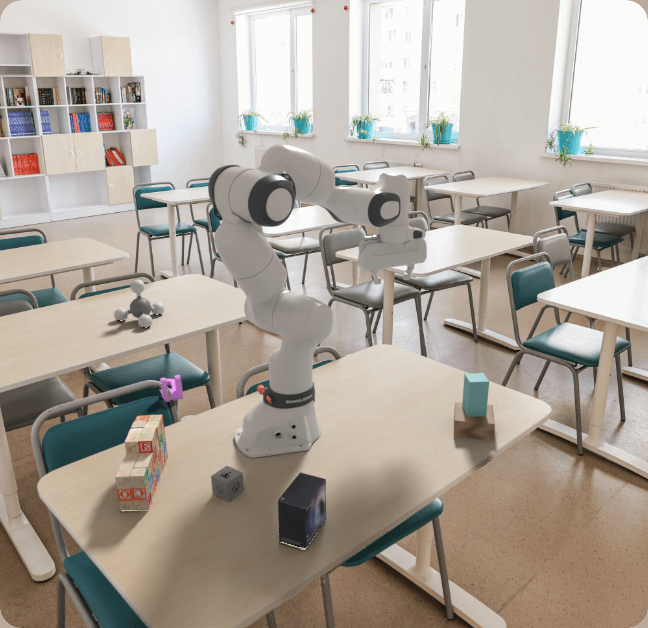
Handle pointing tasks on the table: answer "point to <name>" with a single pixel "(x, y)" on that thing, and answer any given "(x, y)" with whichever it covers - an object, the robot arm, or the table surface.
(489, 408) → the walnut base
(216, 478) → the dice cube
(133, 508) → the stack of blocks
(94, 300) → the table surface
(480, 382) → the teal pillar
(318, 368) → the table surface
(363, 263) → the robot arm
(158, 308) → the molecule model
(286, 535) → the small box
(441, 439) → the table surface
